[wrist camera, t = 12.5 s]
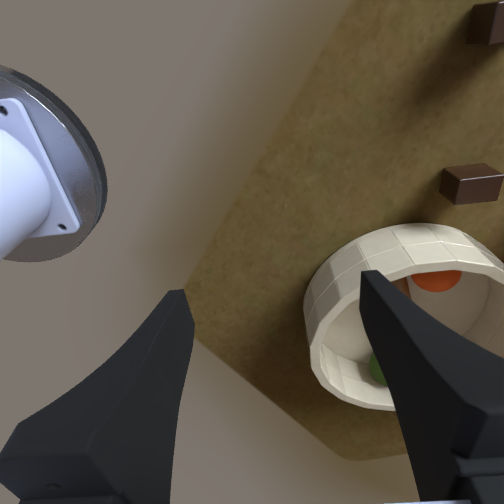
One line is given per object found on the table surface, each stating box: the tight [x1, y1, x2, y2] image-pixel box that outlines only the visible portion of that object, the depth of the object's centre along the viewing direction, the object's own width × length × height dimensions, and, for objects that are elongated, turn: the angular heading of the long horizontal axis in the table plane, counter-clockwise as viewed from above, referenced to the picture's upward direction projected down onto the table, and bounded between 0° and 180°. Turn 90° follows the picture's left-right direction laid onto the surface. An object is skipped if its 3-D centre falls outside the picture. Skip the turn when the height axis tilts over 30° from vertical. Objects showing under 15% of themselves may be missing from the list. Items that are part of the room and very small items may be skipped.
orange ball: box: [411, 270, 462, 292], centre depth 22 cm, size 3×3×3 cm
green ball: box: [369, 353, 388, 386], centre depth 27 cm, size 3×3×3 cm
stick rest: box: [439, 0, 504, 205], centre depth 18 cm, size 10×2×2 cm, turn 8°
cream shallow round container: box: [303, 223, 504, 411], centre depth 24 cm, size 14×14×4 cm
